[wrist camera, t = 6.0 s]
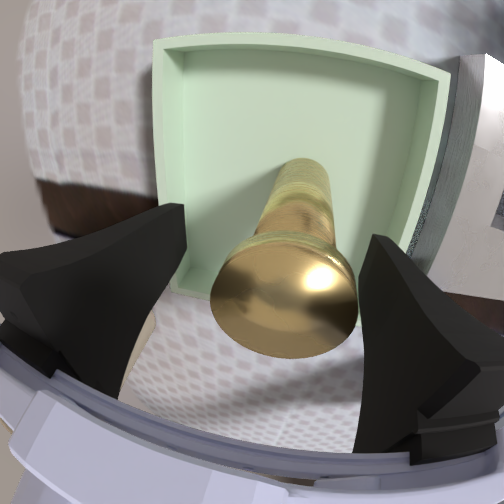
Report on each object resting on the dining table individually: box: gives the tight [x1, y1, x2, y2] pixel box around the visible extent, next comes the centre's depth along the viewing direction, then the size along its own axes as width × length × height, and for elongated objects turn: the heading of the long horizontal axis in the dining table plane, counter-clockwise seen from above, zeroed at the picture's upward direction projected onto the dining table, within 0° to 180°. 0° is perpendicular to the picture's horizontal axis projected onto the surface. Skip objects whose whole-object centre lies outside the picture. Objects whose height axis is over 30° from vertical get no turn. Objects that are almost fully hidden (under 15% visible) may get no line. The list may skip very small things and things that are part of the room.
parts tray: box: [152, 32, 451, 327], centre depth 15 cm, size 16×14×3 cm
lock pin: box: [210, 158, 358, 359], centre depth 11 cm, size 4×4×10 cm
